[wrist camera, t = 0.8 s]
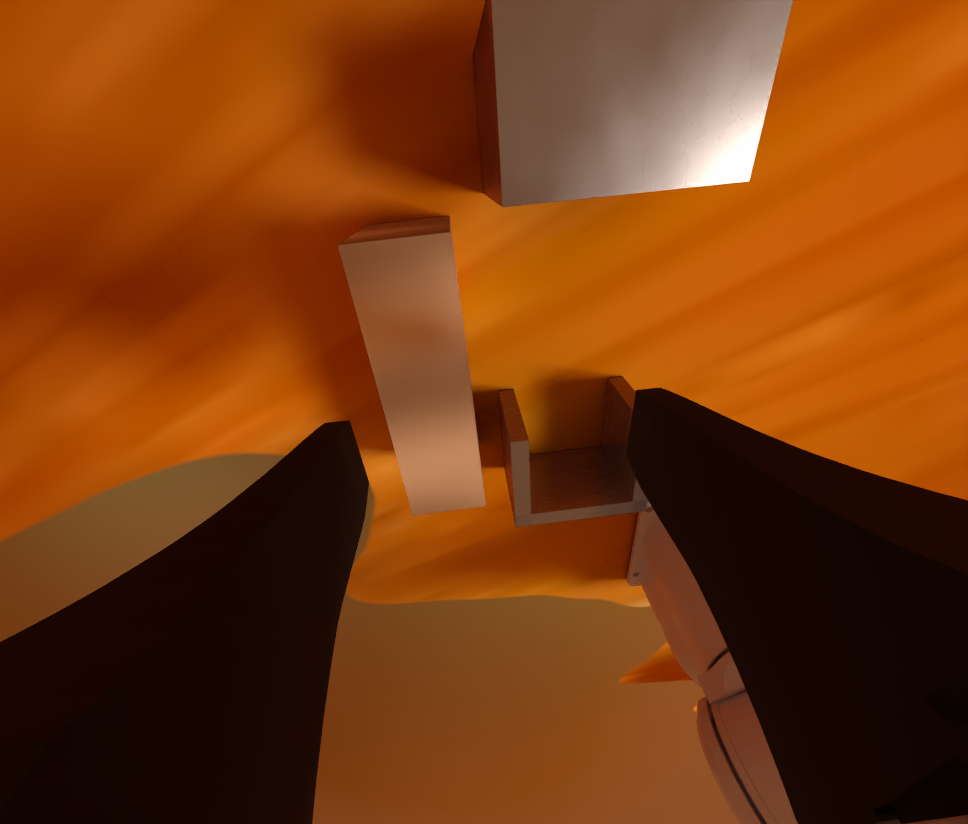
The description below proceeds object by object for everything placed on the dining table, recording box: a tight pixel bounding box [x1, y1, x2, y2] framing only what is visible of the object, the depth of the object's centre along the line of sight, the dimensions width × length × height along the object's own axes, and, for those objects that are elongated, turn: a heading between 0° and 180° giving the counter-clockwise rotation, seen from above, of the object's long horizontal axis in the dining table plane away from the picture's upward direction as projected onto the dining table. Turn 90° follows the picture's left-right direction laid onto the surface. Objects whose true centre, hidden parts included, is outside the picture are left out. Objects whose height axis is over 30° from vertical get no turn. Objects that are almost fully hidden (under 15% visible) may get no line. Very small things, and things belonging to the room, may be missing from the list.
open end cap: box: [499, 376, 648, 527], centre depth 20 cm, size 5×7×5 cm
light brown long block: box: [337, 216, 486, 515], centre depth 17 cm, size 12×4×5 cm, turn 6°
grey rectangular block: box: [473, 0, 793, 207], centre depth 12 cm, size 4×7×6 cm, turn 95°
